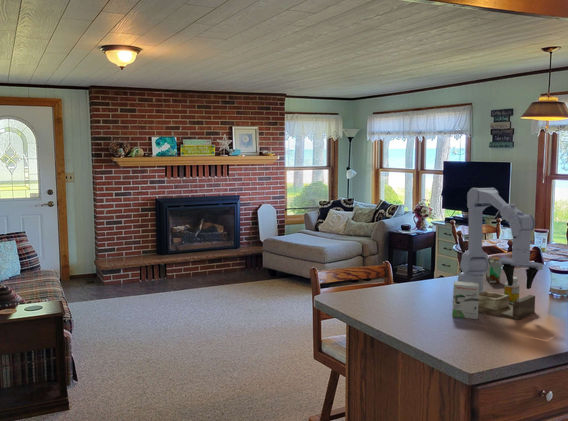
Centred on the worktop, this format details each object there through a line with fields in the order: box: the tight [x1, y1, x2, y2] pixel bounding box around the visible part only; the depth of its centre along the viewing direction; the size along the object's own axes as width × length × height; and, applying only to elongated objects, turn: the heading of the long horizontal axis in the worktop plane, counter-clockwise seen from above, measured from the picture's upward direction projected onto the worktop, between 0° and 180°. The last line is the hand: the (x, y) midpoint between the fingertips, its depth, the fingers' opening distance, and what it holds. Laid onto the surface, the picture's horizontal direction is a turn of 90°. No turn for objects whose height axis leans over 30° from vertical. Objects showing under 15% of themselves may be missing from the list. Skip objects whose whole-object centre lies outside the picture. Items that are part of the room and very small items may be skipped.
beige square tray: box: [478, 290, 510, 311], centre depth 202 cm, size 9×9×4 cm
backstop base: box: [478, 294, 536, 321], centre depth 200 cm, size 19×14×6 cm
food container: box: [485, 257, 504, 285], centre depth 246 cm, size 12×6×10 cm, turn 168°
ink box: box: [451, 280, 479, 320], centre depth 192 cm, size 9×5×12 cm, turn 73°
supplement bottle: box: [503, 276, 521, 305], centre depth 211 cm, size 5×5×10 cm
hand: (519, 286), depth 194 cm, fingers open, 6 cm apart
